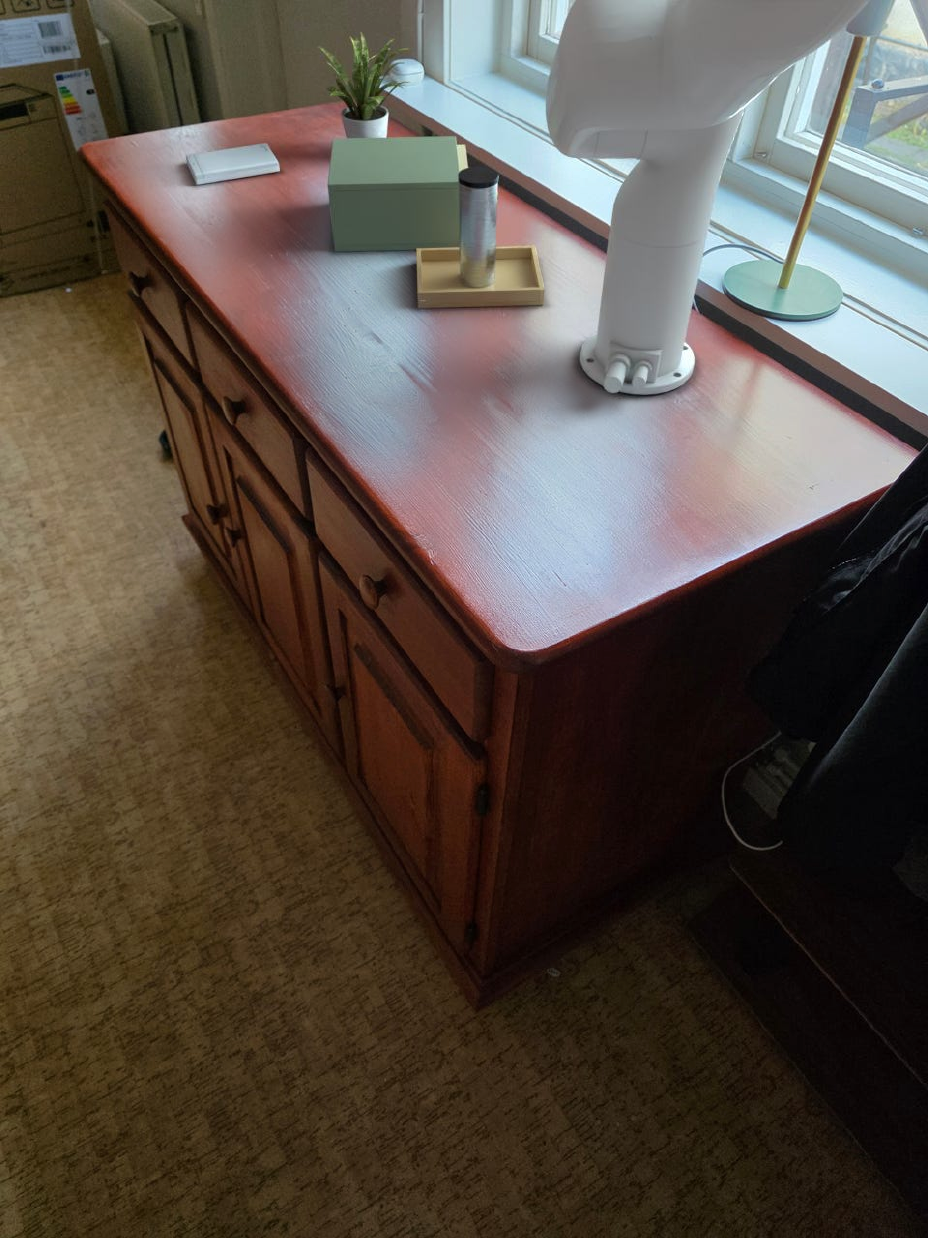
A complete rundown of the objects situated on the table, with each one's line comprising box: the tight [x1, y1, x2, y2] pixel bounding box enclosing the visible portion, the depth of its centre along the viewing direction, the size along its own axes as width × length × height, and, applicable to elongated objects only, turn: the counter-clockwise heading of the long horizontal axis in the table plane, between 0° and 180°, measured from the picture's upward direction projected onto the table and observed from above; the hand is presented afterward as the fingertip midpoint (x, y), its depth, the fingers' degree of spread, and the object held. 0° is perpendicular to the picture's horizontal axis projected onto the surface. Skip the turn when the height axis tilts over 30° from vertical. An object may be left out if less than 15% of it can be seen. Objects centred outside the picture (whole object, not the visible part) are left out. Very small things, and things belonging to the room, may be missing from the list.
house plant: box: [314, 31, 413, 138], centre depth 130 cm, size 14×14×16 cm
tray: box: [415, 245, 546, 309], centre depth 110 cm, size 15×11×2 cm
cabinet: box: [327, 135, 460, 253], centre depth 118 cm, size 17×15×9 cm
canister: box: [458, 166, 500, 288], centre depth 106 cm, size 5×5×13 cm
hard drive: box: [185, 142, 281, 186], centre depth 133 cm, size 2×8×12 cm
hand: (646, 45), depth 94 cm, fingers closed
